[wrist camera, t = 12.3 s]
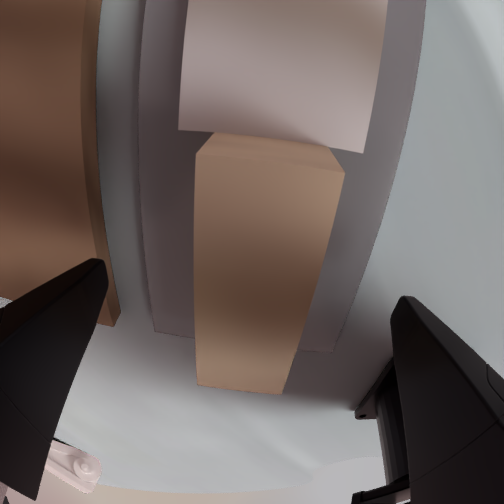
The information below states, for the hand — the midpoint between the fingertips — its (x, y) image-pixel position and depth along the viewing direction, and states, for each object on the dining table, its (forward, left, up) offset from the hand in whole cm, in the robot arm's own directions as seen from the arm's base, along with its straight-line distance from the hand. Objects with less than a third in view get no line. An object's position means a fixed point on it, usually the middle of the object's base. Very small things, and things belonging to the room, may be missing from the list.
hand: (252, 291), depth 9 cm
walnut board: (+9, +12, -3) cm, 15 cm away
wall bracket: (-34, +31, -4) cm, 46 cm away
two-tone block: (+4, 0, -2) cm, 5 cm away
